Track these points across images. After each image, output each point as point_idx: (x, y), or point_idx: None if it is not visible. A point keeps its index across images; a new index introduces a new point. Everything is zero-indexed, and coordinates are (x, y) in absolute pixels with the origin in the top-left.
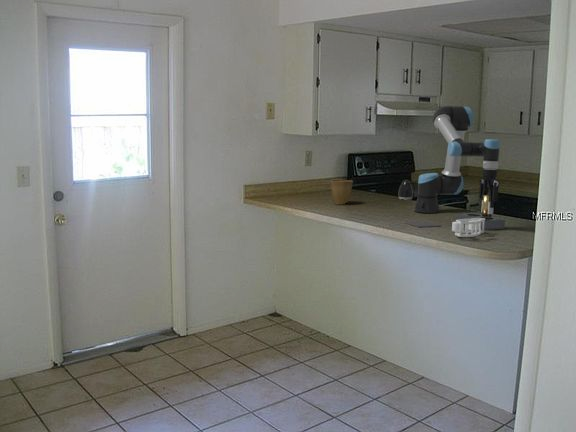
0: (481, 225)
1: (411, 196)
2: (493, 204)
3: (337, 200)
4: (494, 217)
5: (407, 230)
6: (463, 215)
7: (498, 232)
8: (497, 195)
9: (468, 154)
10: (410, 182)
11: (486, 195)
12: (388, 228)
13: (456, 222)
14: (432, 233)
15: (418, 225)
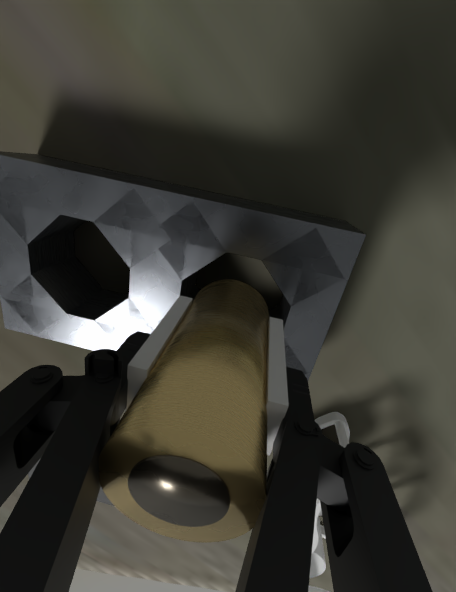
0: None
1: None
2: (307, 406)
3: None
4: (236, 220)
5: (163, 555)
6: (79, 346)
7: (391, 355)
8: (412, 558)
9: None
10: None
11: (184, 524)
12: (115, 563)
13: (312, 590)
14: (241, 547)
15: (105, 495)
